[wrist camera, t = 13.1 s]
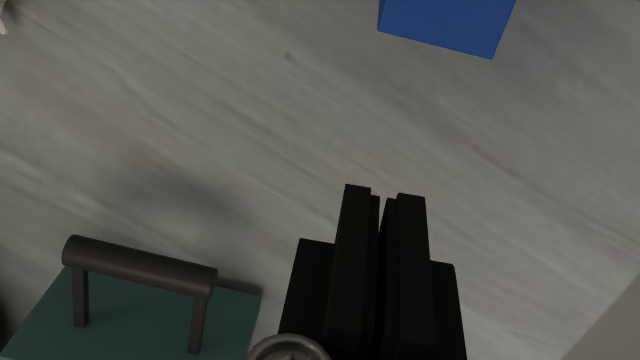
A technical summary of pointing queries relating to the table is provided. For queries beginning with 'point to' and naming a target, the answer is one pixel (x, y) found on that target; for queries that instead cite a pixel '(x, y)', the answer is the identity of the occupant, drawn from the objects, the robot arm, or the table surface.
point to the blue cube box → (448, 22)
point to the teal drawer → (134, 310)
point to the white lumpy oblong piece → (0, 23)
